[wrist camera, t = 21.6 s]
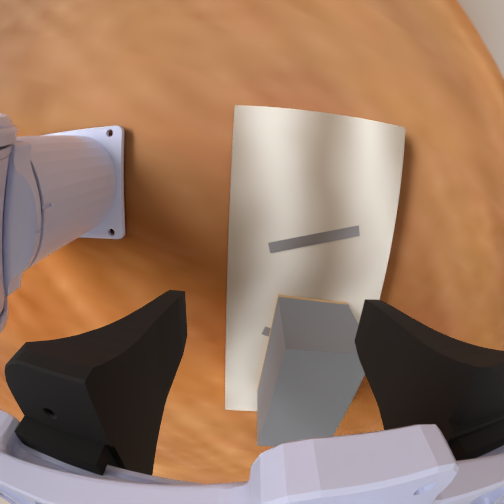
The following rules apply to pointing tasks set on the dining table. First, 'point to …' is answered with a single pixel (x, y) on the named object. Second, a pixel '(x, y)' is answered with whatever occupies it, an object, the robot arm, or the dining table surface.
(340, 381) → the block
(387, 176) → the cream flat panel
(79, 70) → the dining table surface
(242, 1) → the dining table surface
